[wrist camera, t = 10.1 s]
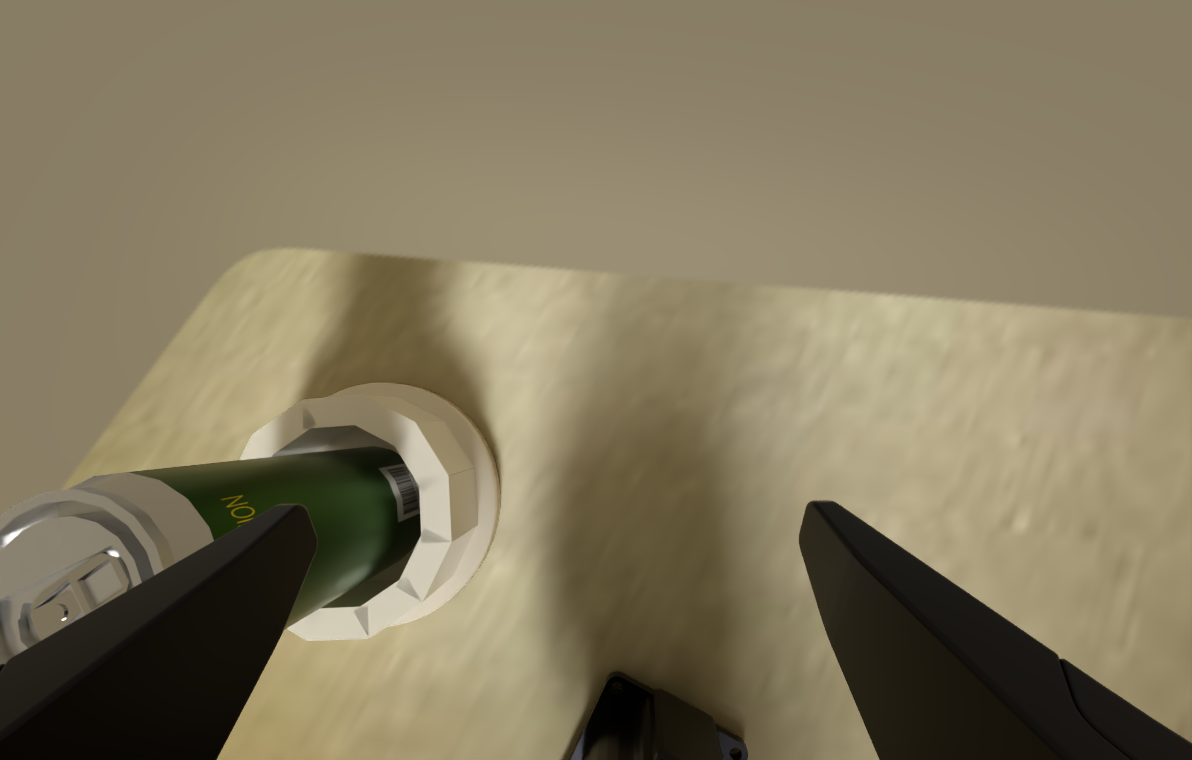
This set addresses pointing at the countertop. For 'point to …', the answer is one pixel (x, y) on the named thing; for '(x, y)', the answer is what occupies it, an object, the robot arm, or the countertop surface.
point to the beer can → (197, 531)
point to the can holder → (446, 487)
